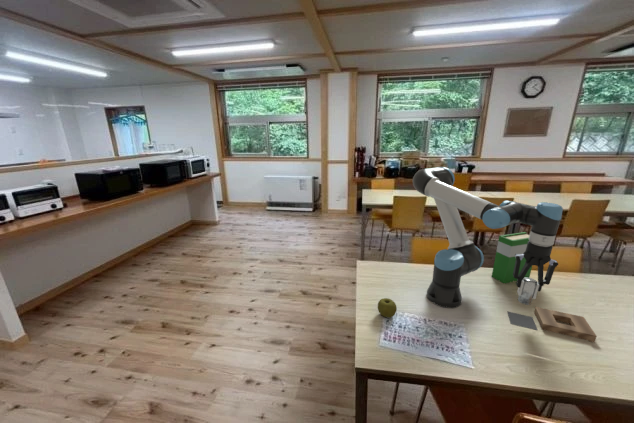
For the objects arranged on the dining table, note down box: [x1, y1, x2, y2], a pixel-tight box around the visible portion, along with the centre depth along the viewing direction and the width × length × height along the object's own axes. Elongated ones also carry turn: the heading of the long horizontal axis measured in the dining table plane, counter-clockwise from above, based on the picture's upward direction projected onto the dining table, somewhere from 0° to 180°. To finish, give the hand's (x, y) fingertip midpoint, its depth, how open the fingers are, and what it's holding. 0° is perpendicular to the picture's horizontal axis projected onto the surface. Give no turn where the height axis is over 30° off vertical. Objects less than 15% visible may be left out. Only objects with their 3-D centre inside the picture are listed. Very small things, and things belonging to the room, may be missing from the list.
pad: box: [506, 310, 539, 331], centre depth 114 cm, size 9×9×1 cm
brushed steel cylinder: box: [517, 277, 538, 306], centre depth 110 cm, size 4×4×10 cm
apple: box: [377, 297, 397, 319], centre depth 117 cm, size 8×8×7 cm
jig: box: [533, 306, 598, 343], centre depth 110 cm, size 16×12×3 cm
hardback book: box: [491, 231, 533, 284], centre depth 144 cm, size 18×7×24 cm, turn 106°
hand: (526, 295), depth 111 cm, fingers closed on brushed steel cylinder, 4 cm apart
